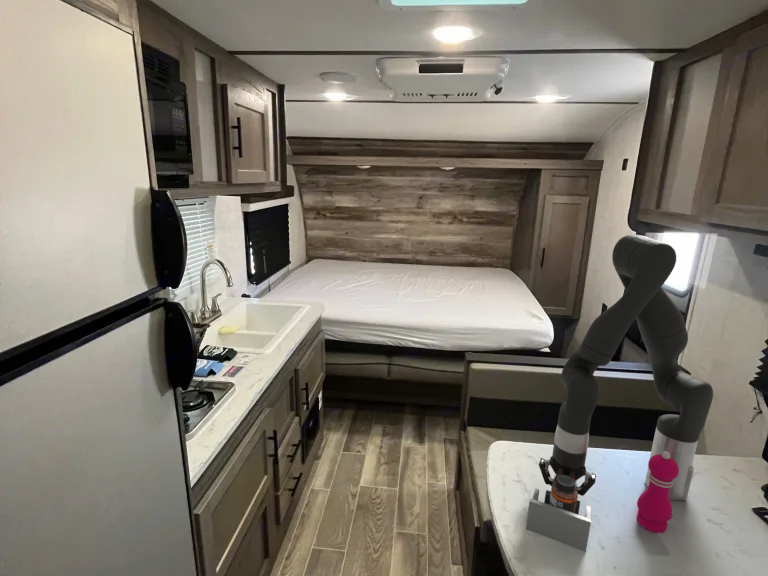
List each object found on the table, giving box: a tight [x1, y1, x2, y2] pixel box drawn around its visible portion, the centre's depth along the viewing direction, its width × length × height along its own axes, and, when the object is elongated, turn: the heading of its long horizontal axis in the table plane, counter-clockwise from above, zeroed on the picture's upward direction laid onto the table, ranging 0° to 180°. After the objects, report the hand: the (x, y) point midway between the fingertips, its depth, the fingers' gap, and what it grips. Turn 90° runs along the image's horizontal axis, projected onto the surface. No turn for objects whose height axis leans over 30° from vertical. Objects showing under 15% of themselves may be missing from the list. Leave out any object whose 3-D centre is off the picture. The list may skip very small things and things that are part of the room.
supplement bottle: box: [549, 475, 579, 514], centre depth 103 cm, size 6×6×11 cm
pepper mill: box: [636, 451, 679, 534], centre depth 102 cm, size 7×7×20 cm
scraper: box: [543, 489, 581, 515], centre depth 110 cm, size 8×8×6 cm
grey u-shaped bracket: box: [525, 488, 592, 552], centre depth 102 cm, size 13×11×8 cm
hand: (562, 501), depth 110 cm, fingers closed on scraper, 3 cm apart
